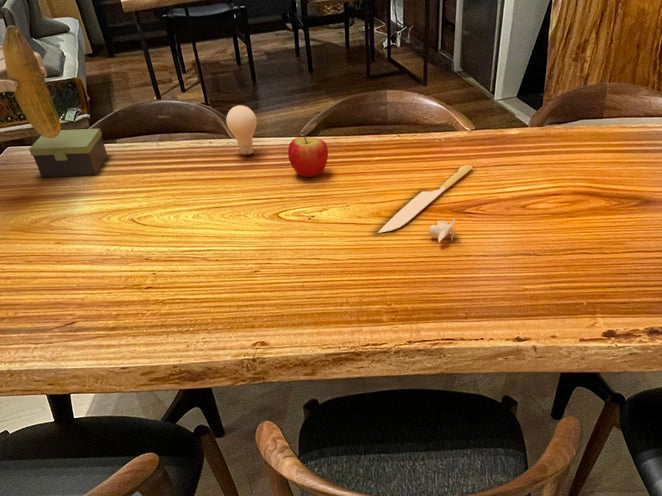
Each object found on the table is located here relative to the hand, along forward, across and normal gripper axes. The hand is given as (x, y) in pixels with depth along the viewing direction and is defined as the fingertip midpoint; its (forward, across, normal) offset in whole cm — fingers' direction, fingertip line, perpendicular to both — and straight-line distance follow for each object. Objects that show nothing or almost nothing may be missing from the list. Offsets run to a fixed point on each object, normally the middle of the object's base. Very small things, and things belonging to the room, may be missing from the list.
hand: (30, 79), depth 116 cm
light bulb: (+28, +27, +23) cm, 45 cm away
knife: (+73, +16, +23) cm, 78 cm away
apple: (+46, +21, +23) cm, 55 cm away
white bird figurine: (+80, +1, +23) cm, 83 cm away
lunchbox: (-8, +12, +23) cm, 27 cm away
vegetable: (-1, 0, +11) cm, 11 cm away
